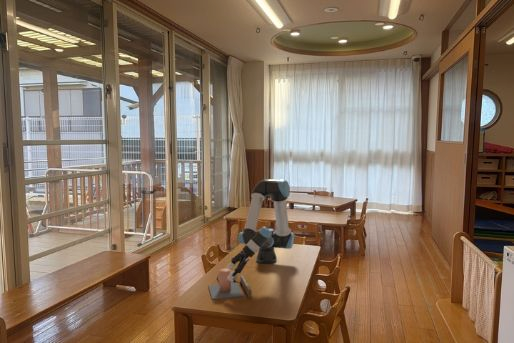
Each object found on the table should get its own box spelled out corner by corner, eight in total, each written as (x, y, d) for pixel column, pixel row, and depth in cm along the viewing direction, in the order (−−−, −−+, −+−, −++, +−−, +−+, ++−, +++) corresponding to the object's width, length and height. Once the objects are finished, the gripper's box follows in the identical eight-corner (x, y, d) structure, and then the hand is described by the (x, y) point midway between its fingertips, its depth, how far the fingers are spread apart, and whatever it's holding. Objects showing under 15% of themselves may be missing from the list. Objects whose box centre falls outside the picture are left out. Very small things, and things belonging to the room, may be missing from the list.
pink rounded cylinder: (218, 288, 222) (218, 269, 221) (230, 287, 223) (229, 268, 222) (220, 293, 215) (219, 273, 214) (232, 291, 216) (231, 271, 215)
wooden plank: (240, 281, 234) (240, 274, 234) (242, 280, 235) (242, 274, 234) (248, 297, 209) (248, 291, 209) (251, 297, 209) (251, 290, 209)
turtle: (240, 283, 239) (240, 267, 242) (239, 283, 230) (239, 267, 233) (216, 282, 240) (217, 266, 242) (214, 282, 231) (215, 266, 233)
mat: (208, 286, 227) (208, 285, 227) (237, 283, 231) (237, 282, 231) (212, 299, 207) (212, 298, 207) (243, 296, 211) (243, 295, 211)
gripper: (260, 259, 209) (234, 287, 207) (251, 246, 233) (228, 271, 231) (250, 251, 207) (225, 279, 205) (242, 239, 231) (219, 264, 229)
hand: (227, 275), depth 218 cm, fingers open, 13 cm apart
